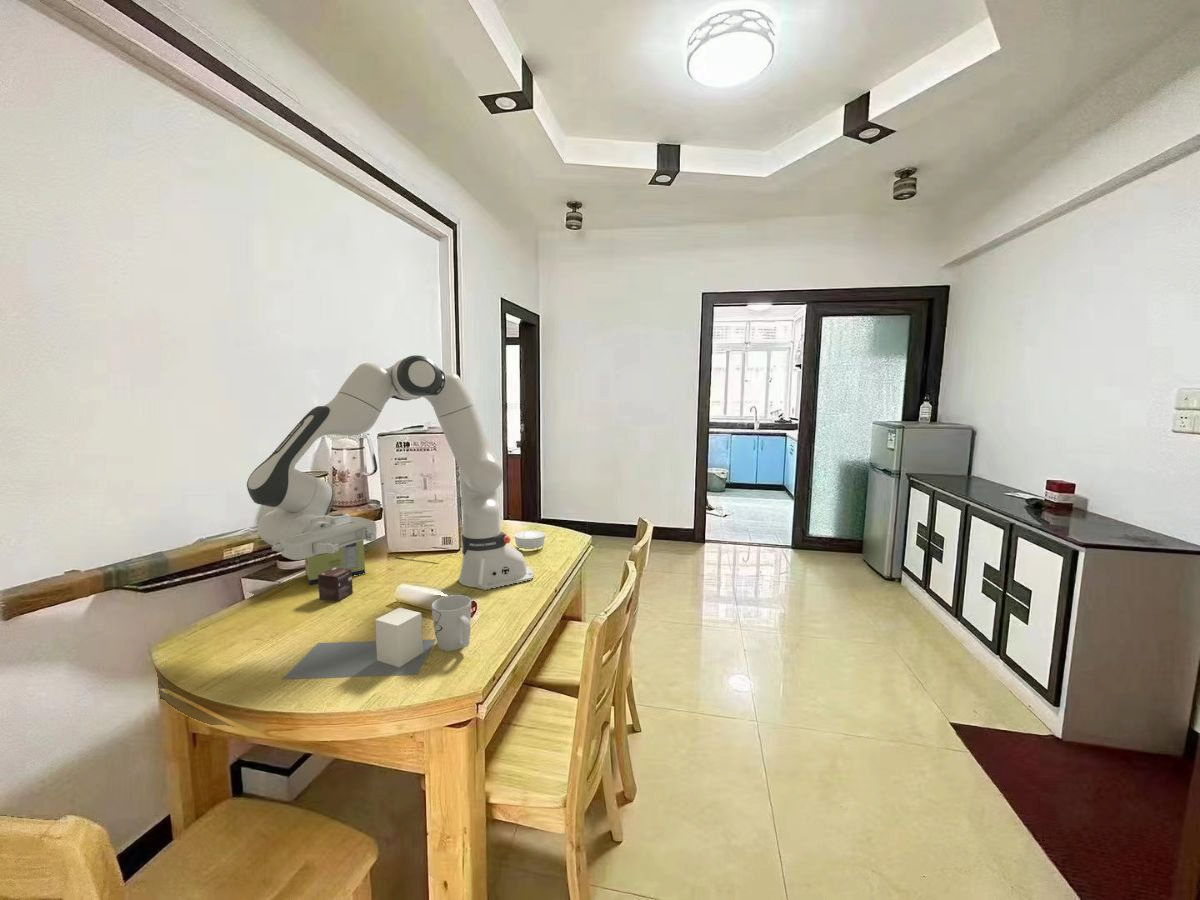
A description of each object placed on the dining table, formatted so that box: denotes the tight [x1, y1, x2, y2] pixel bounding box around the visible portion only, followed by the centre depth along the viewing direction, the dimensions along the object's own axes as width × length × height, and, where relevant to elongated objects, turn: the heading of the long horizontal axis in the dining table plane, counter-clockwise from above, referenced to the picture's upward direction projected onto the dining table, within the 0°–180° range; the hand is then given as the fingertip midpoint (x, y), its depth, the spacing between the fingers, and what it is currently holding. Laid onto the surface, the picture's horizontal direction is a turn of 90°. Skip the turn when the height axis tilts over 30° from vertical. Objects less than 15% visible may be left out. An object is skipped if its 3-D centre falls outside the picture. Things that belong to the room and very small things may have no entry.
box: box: [317, 568, 354, 602], centre depth 133 cm, size 6×6×7 cm
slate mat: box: [281, 638, 437, 681], centre depth 102 cm, size 26×14×1 cm, turn 94°
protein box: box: [304, 540, 366, 586], centre depth 150 cm, size 10×16×16 cm
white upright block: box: [374, 606, 423, 667], centre depth 102 cm, size 6×6×9 cm
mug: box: [431, 594, 472, 652], centre depth 107 cm, size 11×8×10 cm
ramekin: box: [514, 530, 546, 549], centre depth 177 cm, size 11×11×5 cm
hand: (355, 542), depth 105 cm, fingers open, 8 cm apart
